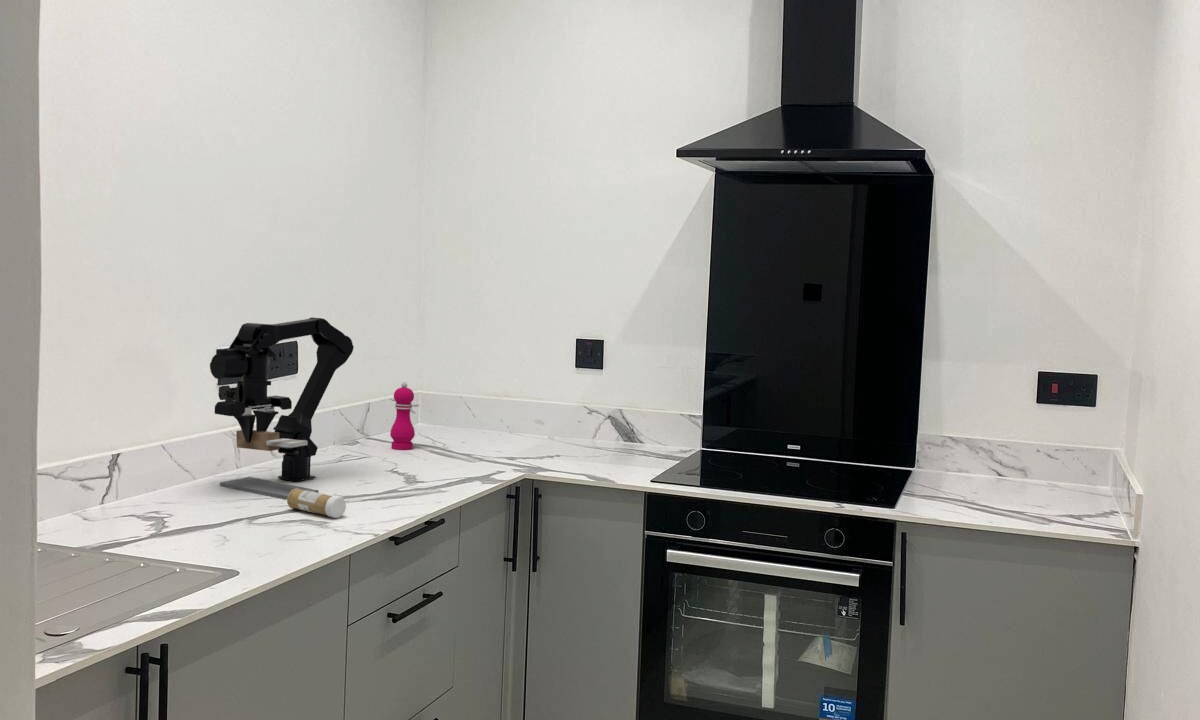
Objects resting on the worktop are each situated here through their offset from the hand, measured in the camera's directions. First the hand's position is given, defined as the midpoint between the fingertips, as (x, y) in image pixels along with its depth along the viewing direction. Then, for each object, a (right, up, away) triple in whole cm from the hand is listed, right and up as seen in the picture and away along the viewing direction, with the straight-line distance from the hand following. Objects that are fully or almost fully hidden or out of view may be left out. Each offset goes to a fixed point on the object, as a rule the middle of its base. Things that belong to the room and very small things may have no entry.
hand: (253, 441), depth 235 cm
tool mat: (+4, -11, -2) cm, 12 cm away
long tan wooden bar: (+5, -2, -3) cm, 6 cm away
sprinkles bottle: (+15, -11, -18) cm, 26 cm away
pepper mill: (+23, -7, +62) cm, 67 cm away
